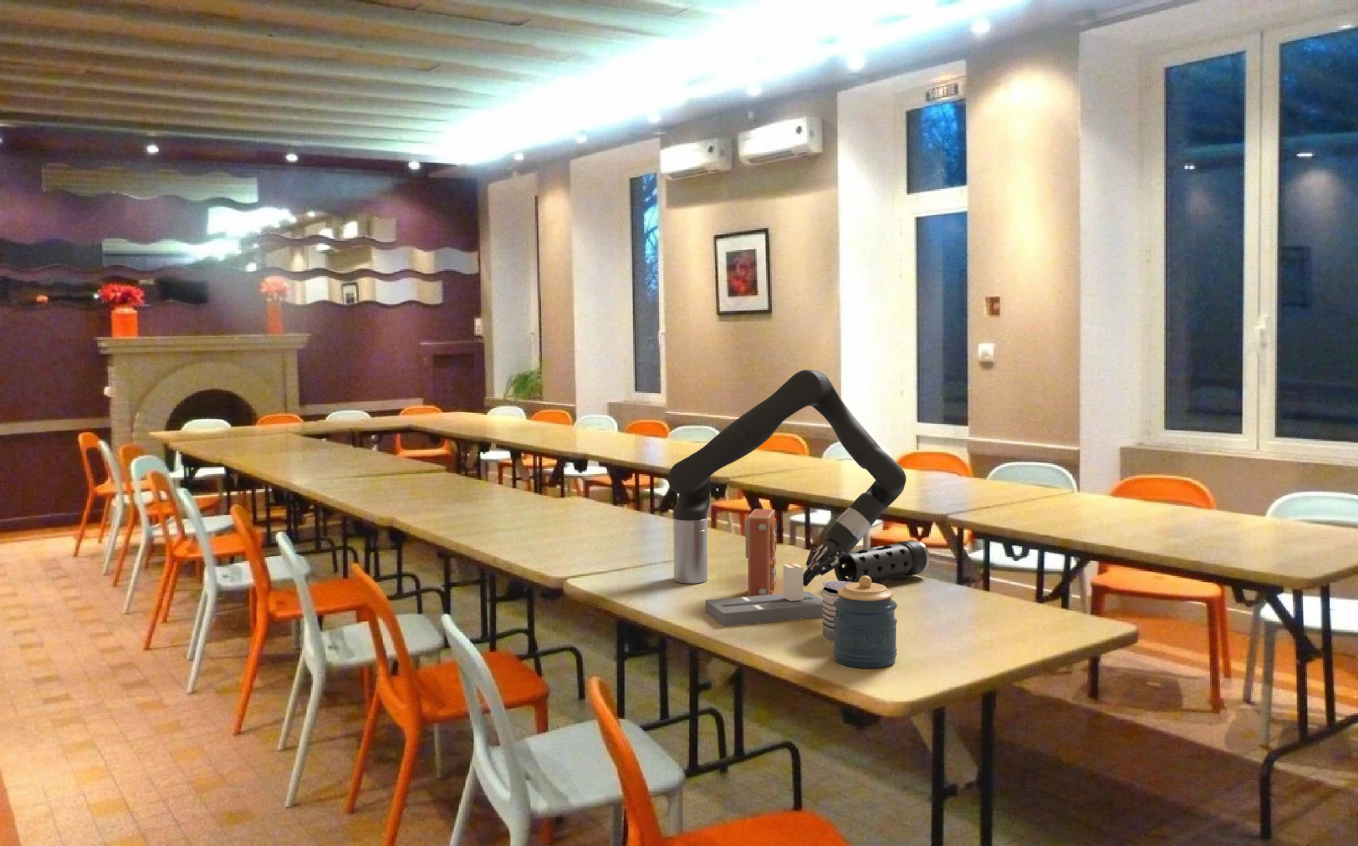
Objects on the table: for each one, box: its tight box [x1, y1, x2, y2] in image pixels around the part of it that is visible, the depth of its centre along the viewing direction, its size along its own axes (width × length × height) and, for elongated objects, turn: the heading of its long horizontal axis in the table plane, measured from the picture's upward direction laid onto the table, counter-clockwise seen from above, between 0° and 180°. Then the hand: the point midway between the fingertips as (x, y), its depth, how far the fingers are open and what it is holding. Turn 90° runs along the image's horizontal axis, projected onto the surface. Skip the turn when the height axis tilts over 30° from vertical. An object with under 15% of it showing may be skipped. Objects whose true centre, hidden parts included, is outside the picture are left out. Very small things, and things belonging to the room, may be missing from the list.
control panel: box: [744, 508, 778, 597], centre depth 279 cm, size 21×7×15 cm
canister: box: [832, 576, 898, 669], centre depth 224 cm, size 13×13×18 cm
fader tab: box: [782, 563, 804, 601], centre depth 262 cm, size 4×4×8 cm
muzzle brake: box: [833, 539, 931, 585], centre depth 292 cm, size 10×28×10 cm, turn 126°
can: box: [822, 580, 855, 643], centre depth 241 cm, size 11×11×12 cm
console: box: [705, 591, 823, 627], centre depth 261 cm, size 13×27×3 cm, turn 107°
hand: (801, 583), depth 263 cm, fingers closed
